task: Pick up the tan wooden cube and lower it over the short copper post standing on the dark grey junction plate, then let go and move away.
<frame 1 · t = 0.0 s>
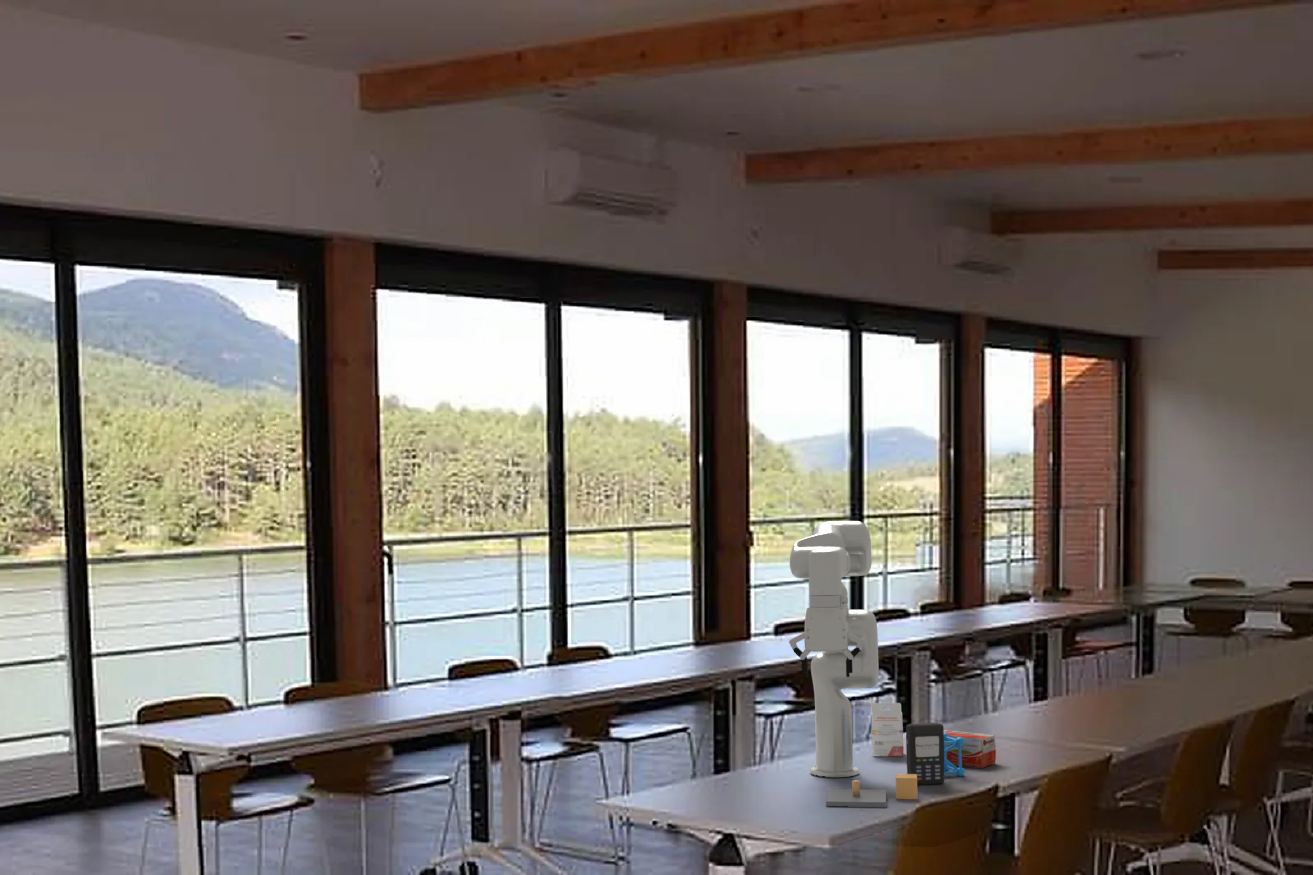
hand: (827, 676, 356), 31 cm above the table, tool pointing down, fingers open, 9 cm apart
junction plate: (856, 800, 366), on the table
card reader: (925, 784, 385), on the table
tan wooden cube: (906, 796, 370), on the table
molecular structure: (939, 775, 396), on the table
medicine box: (963, 764, 411), on the table
ink cartridge box: (887, 755, 425), on the table
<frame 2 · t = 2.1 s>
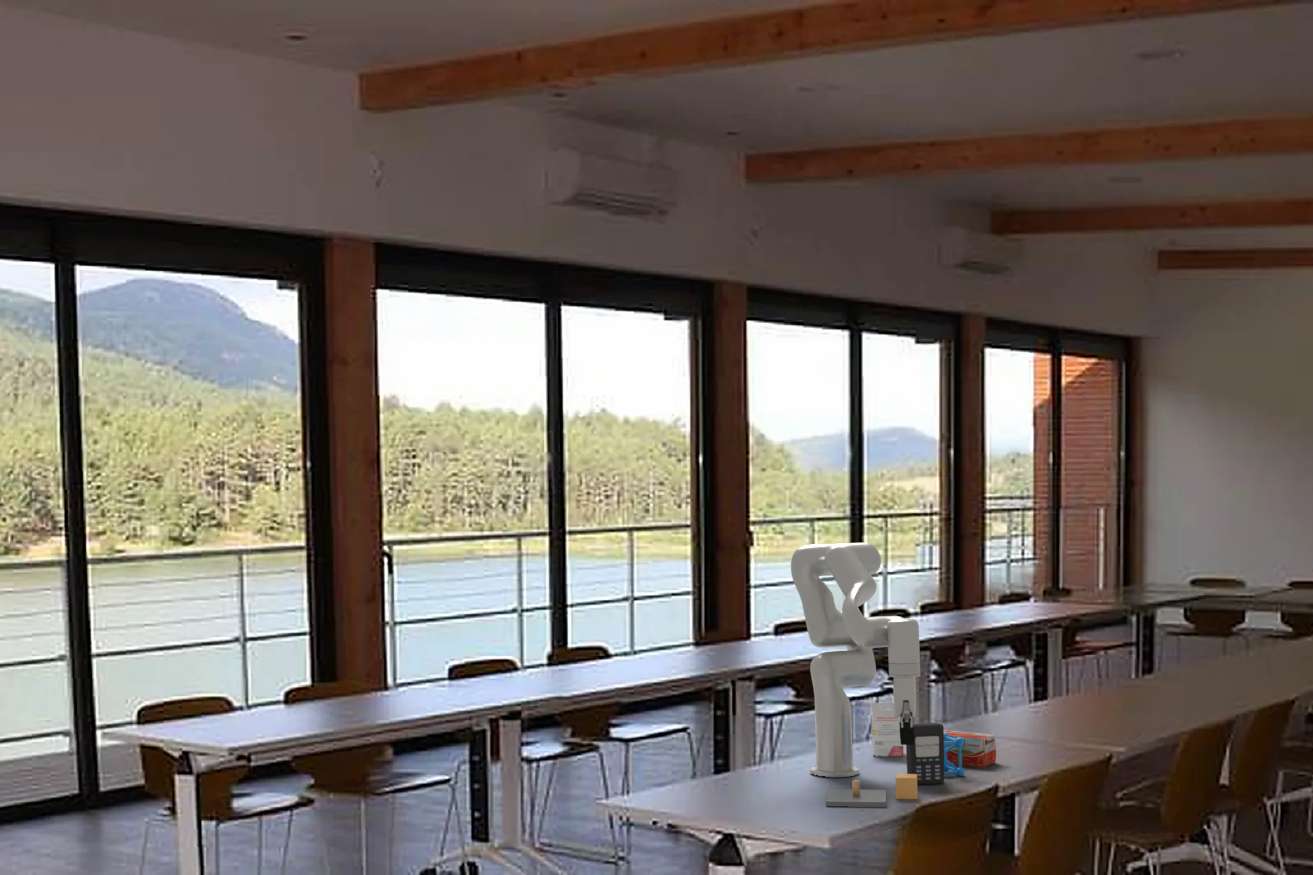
hand: (907, 741, 370), 13 cm above the table, tool pointing down, fingers open, 9 cm apart
nothing on the table moved.
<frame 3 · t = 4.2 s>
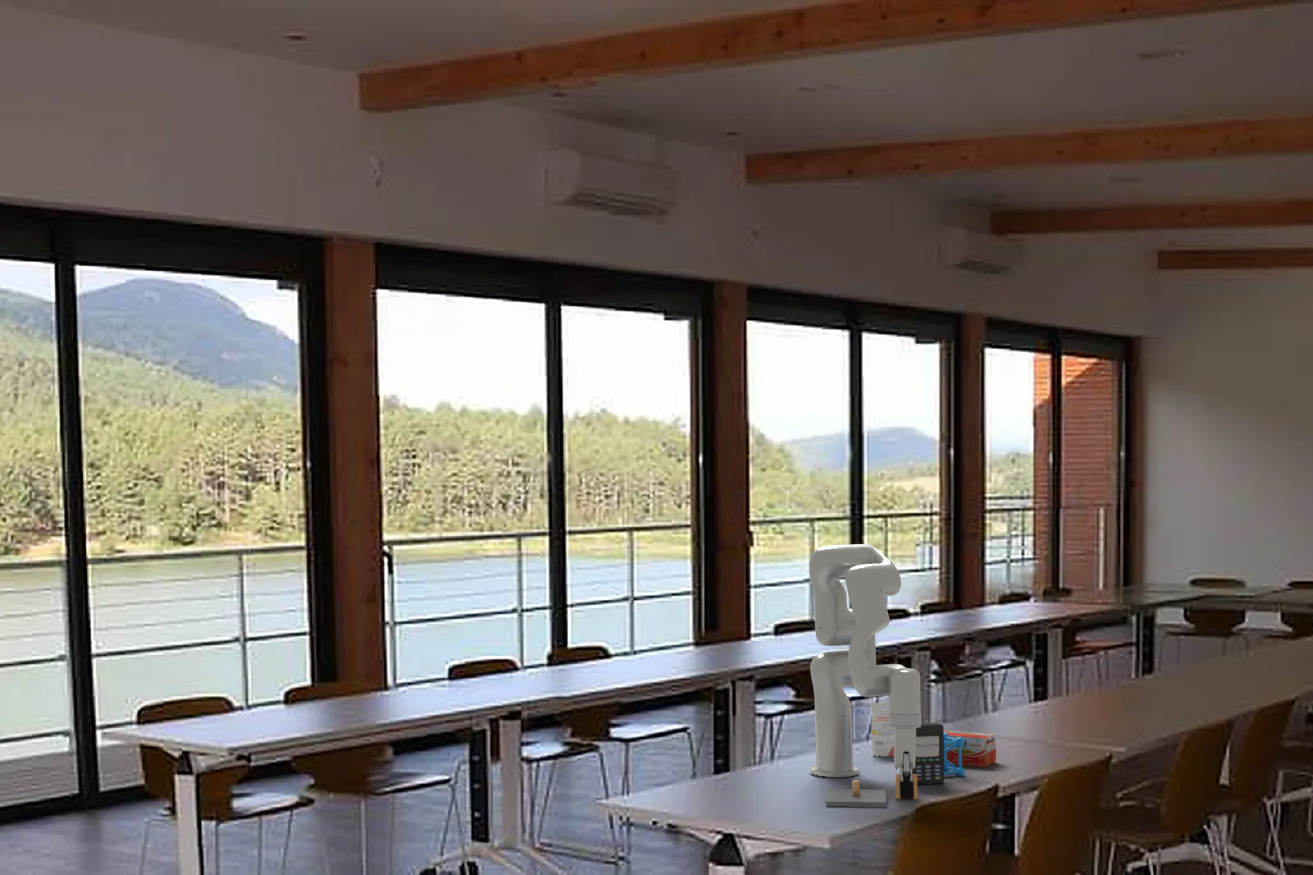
hand: (906, 795, 370), 0 cm above the table, tool pointing down, fingers closed on tan wooden cube, 5 cm apart
tan wooden cube: (906, 796, 370), on the table, touching gripper
everything else where it was.
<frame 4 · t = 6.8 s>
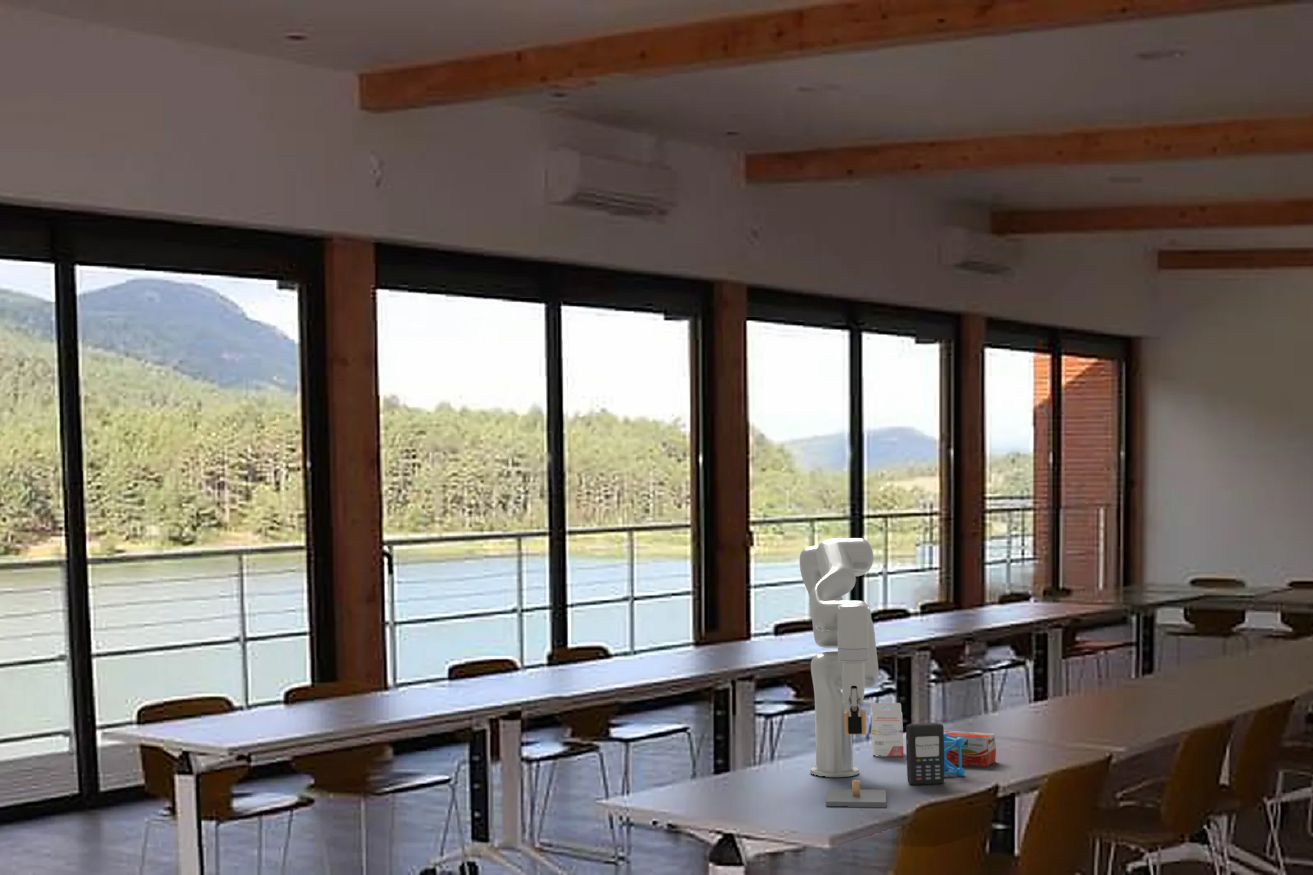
hand: (855, 731, 367), 17 cm above the table, tool pointing down, fingers closed on tan wooden cube, 5 cm apart
tan wooden cube: (855, 732, 367), point 16 cm above the table, touching gripper
when the fingers open (3 cm above the table, at t = 9.5 s): tan wooden cube drops 1 cm, resting on junction plate.
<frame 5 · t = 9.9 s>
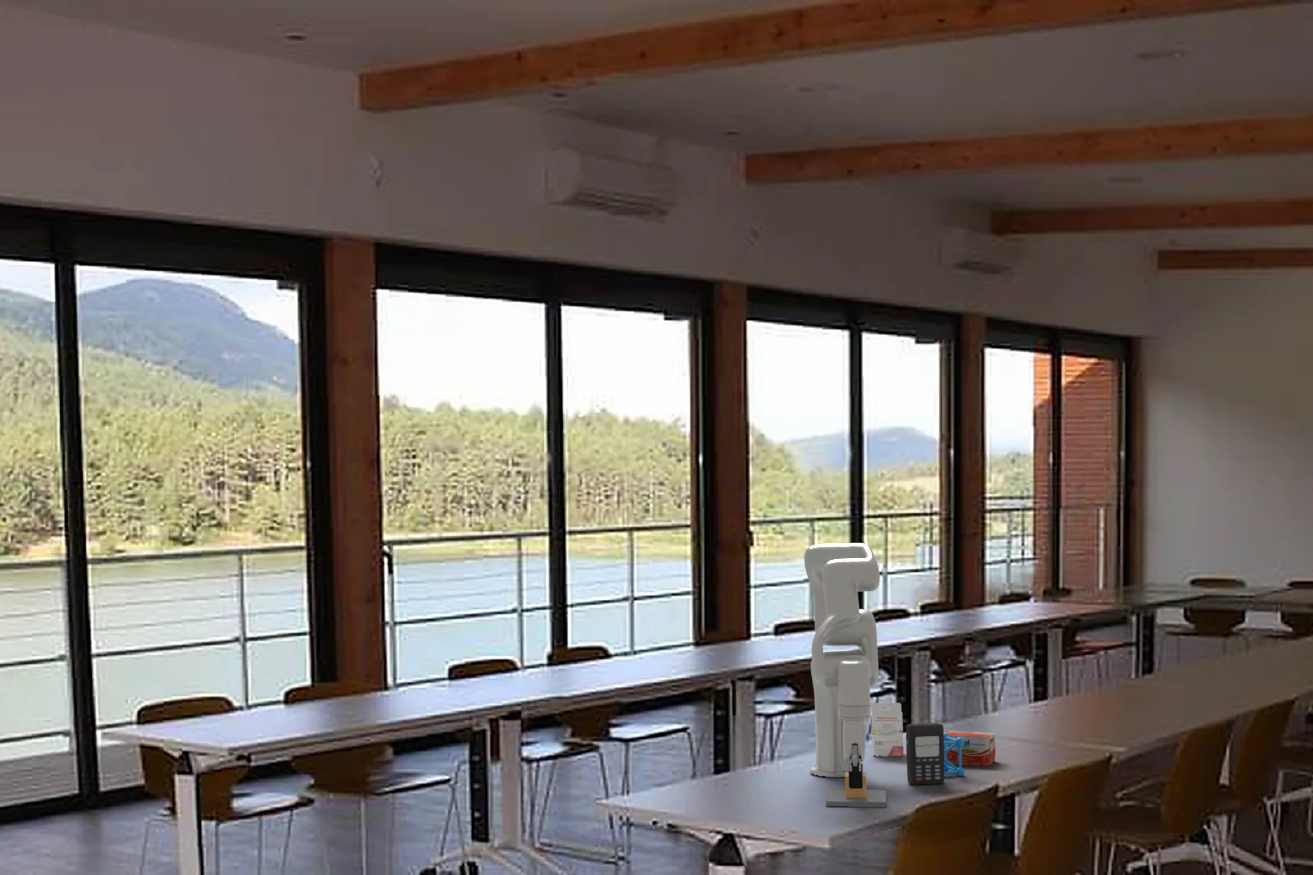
hand: (856, 784, 367), 4 cm above the table, tool pointing down, fingers open, 9 cm apart
tan wooden cube: (856, 795, 367), point 1 cm above the table, touching junction plate
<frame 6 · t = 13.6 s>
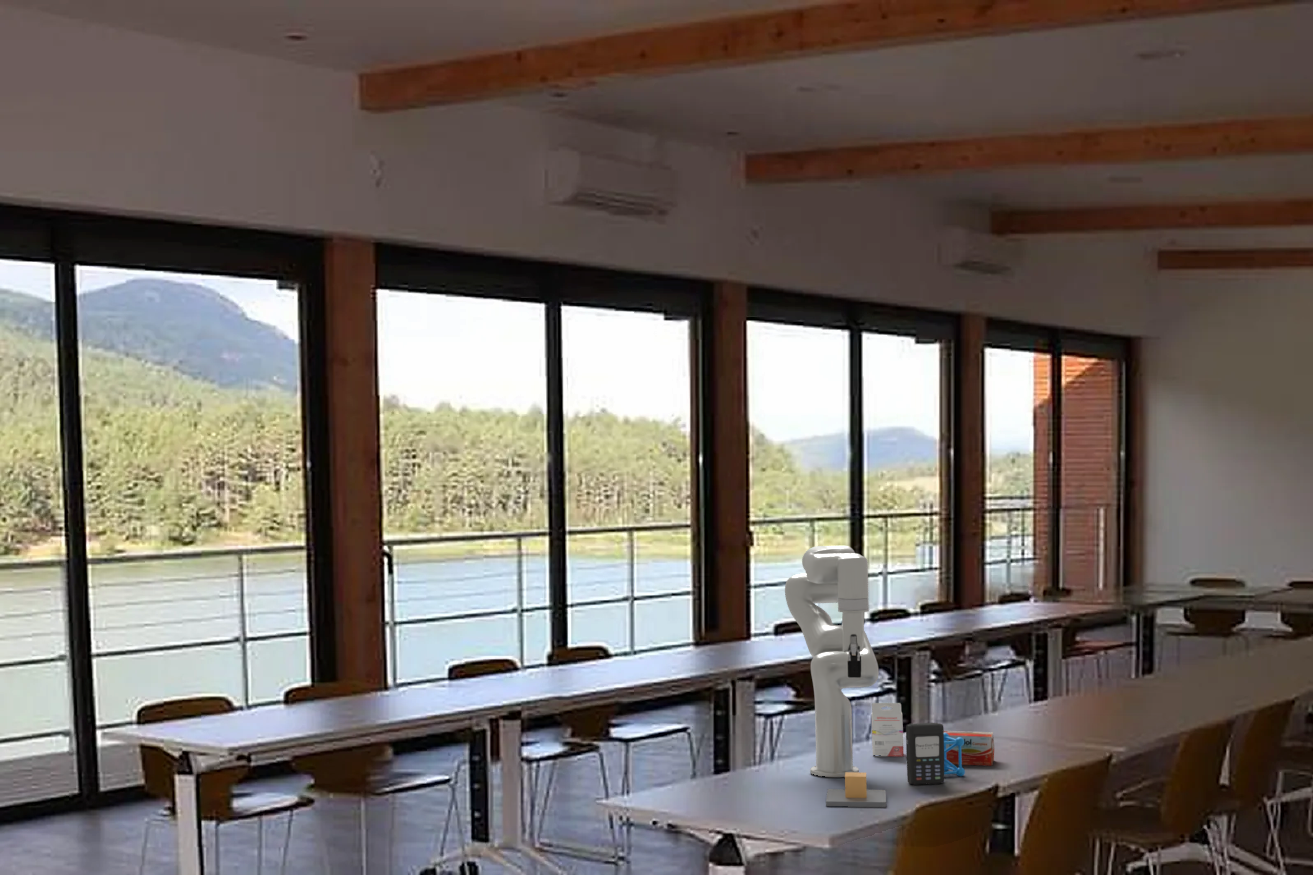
hand: (854, 674, 380), 28 cm above the table, tool pointing down, fingers open, 9 cm apart
at the end: tan wooden cube 0.1 cm off-centre on the junction plate, point 1.2 cm above the junction plate's base; the gripper is holding nothing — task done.
